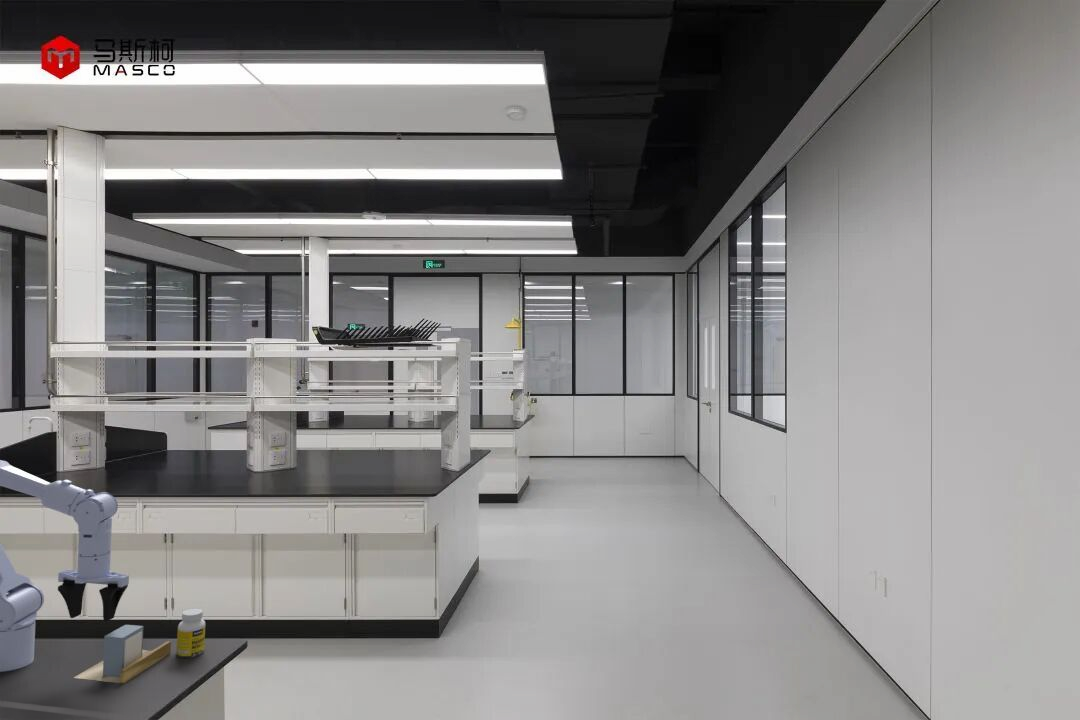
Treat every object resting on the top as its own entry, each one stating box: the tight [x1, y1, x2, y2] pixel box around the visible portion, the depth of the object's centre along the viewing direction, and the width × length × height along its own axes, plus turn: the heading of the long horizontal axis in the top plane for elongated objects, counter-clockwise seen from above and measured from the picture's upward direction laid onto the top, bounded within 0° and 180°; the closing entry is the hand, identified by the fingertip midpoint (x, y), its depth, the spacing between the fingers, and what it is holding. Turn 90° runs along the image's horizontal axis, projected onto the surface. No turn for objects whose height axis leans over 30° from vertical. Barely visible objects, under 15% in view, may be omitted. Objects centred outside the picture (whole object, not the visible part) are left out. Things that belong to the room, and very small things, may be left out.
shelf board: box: [73, 640, 172, 684], centre depth 141 cm, size 11×14×3 cm
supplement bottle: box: [175, 608, 206, 659], centre depth 148 cm, size 5×5×10 cm
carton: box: [102, 624, 144, 677], centre depth 139 cm, size 4×6×8 cm
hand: (92, 617), depth 141 cm, fingers open, 7 cm apart
